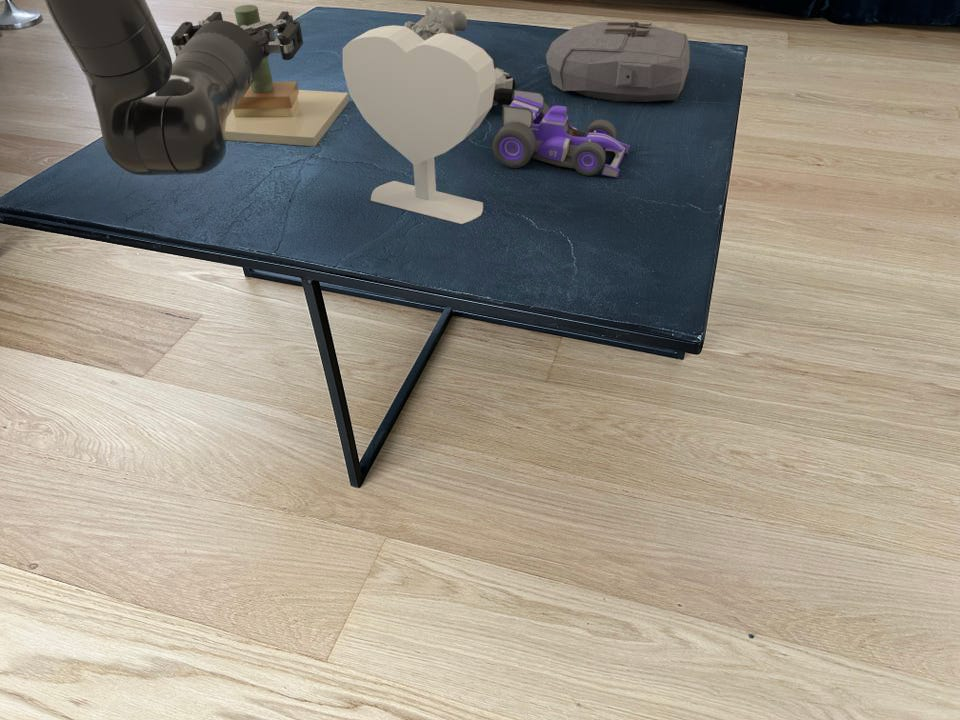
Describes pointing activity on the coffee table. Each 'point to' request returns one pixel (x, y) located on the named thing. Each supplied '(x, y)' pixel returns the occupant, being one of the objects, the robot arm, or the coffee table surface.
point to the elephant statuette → (438, 22)
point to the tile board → (291, 121)
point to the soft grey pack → (620, 61)
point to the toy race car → (554, 138)
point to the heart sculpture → (420, 107)
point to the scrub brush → (264, 82)
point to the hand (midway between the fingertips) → (253, 19)
